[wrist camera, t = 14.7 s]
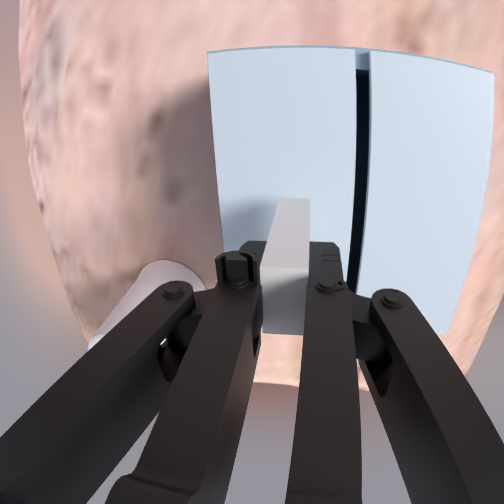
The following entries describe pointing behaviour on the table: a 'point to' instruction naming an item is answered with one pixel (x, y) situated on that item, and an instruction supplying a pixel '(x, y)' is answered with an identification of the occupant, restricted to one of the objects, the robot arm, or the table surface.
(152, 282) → the mug
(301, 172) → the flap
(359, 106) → the box
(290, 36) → the table surface
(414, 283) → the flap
